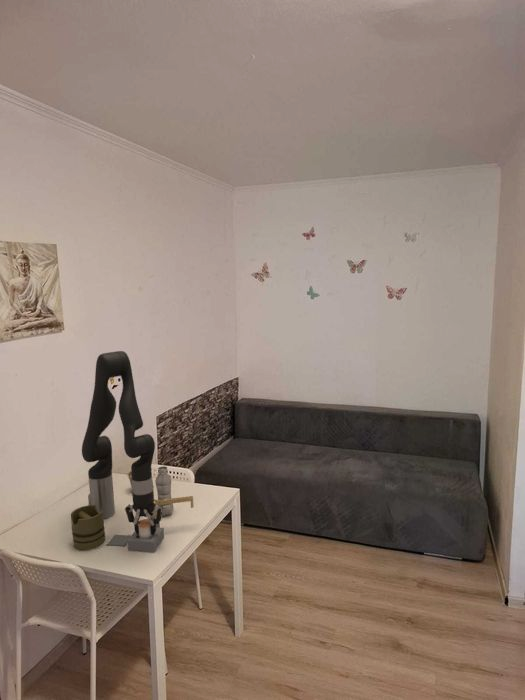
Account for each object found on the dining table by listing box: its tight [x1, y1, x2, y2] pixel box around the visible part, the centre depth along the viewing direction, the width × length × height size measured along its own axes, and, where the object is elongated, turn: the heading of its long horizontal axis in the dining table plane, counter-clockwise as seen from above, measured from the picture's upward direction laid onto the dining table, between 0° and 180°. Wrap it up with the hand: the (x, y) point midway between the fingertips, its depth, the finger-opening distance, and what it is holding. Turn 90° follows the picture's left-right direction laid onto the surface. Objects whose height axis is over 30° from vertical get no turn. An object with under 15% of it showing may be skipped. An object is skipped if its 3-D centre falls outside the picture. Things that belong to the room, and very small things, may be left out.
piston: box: [70, 504, 106, 552], centre depth 180 cm, size 11×12×11 cm
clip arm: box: [154, 495, 194, 509], centre depth 187 cm, size 3×16×4 cm, turn 101°
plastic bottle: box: [154, 465, 174, 516], centre depth 200 cm, size 6×7×20 cm
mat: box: [106, 534, 132, 547], centre depth 181 cm, size 7×7×1 cm
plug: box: [138, 518, 153, 539], centre depth 178 cm, size 5×5×9 cm
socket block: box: [126, 509, 165, 553], centre depth 180 cm, size 10×15×11 cm, turn 171°
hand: (145, 532), depth 178 cm, fingers closed on plug, 5 cm apart
